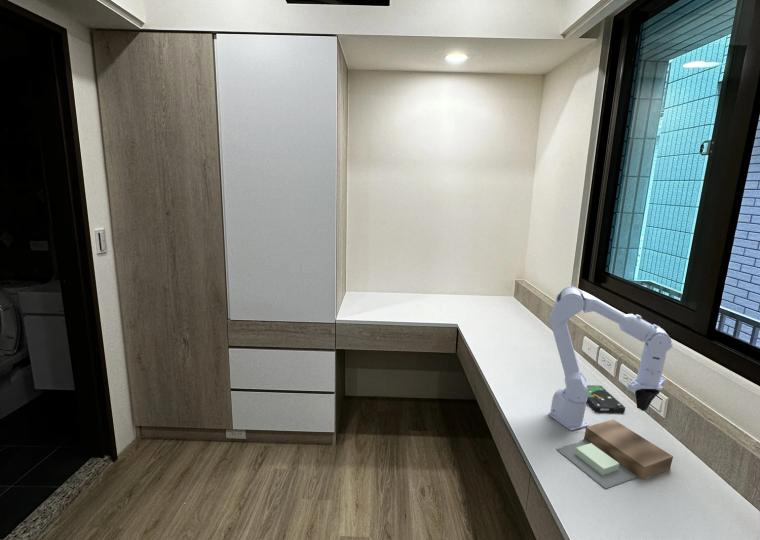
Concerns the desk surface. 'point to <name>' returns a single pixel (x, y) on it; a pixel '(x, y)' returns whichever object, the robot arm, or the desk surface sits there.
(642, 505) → the desk surface
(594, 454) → the pale green block
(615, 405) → the disk drive
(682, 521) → the desk surface
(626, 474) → the mat
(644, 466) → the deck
